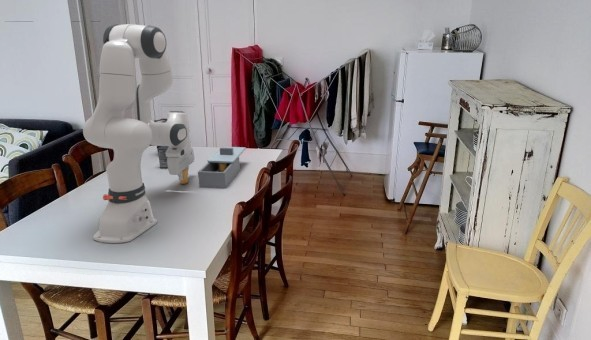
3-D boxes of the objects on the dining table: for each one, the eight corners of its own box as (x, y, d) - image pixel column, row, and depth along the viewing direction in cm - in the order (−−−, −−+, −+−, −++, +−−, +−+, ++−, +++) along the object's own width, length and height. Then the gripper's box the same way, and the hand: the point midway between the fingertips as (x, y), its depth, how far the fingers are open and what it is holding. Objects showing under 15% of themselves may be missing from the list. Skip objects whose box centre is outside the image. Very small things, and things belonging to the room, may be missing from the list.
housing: (226, 190, 177) (224, 173, 175) (199, 189, 179) (197, 171, 177) (240, 172, 198) (239, 156, 195) (216, 171, 200) (214, 156, 197)
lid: (232, 163, 186) (232, 155, 184) (207, 162, 188) (206, 154, 186) (245, 148, 206) (245, 141, 205) (222, 148, 208) (222, 140, 207)
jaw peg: (186, 183, 181) (185, 170, 179) (178, 183, 182) (177, 170, 180) (189, 181, 185) (188, 168, 183) (181, 180, 185) (180, 168, 183)
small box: (184, 164, 211) (182, 145, 207) (180, 168, 205) (177, 148, 201) (164, 164, 212) (162, 144, 208) (159, 168, 206) (156, 148, 202)
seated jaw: (226, 176, 190) (225, 164, 188) (218, 176, 191) (217, 164, 189) (228, 173, 194) (227, 161, 192) (221, 173, 194) (220, 161, 192)
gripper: (183, 141, 188) (186, 169, 193) (163, 154, 169) (167, 185, 173) (196, 141, 187) (198, 170, 192) (177, 154, 168) (181, 186, 173)
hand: (183, 177), depth 182 cm, fingers closed on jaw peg, 4 cm apart
